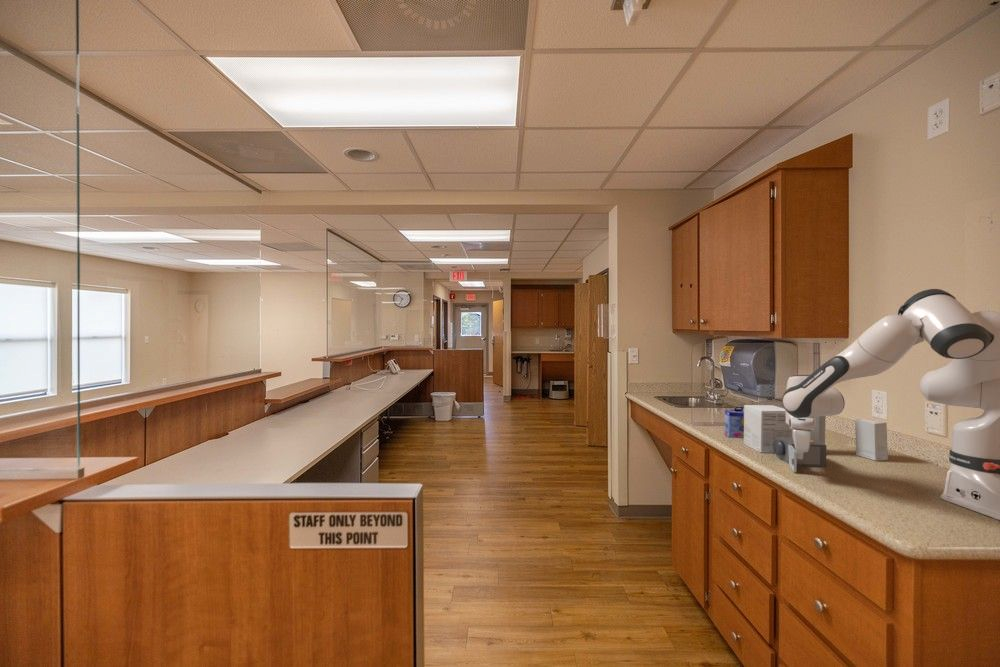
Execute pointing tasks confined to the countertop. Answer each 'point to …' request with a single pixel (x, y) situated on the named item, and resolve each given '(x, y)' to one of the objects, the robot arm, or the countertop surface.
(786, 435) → the supplement box
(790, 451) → the side door
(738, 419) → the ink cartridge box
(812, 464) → the camera housing
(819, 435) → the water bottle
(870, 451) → the skincare box
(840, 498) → the countertop surface
